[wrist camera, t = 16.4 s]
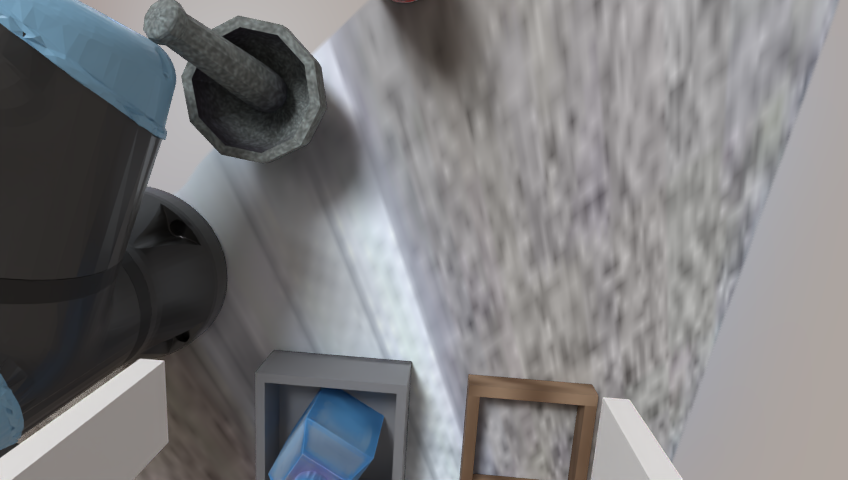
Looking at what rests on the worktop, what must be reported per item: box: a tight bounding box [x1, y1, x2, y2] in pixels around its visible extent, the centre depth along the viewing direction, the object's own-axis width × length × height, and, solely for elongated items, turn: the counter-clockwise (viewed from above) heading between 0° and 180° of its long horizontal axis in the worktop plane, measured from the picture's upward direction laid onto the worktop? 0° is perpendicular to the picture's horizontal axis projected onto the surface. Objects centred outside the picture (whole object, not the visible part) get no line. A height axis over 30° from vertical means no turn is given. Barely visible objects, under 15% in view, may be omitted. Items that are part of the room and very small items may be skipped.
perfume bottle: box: [268, 387, 384, 480], centre depth 40 cm, size 6×6×12 cm
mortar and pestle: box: [143, 0, 327, 163], centre depth 36 cm, size 11×9×12 cm
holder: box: [460, 374, 598, 480], centre depth 45 cm, size 11×11×2 cm
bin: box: [255, 350, 411, 480], centre depth 45 cm, size 13×13×4 cm
